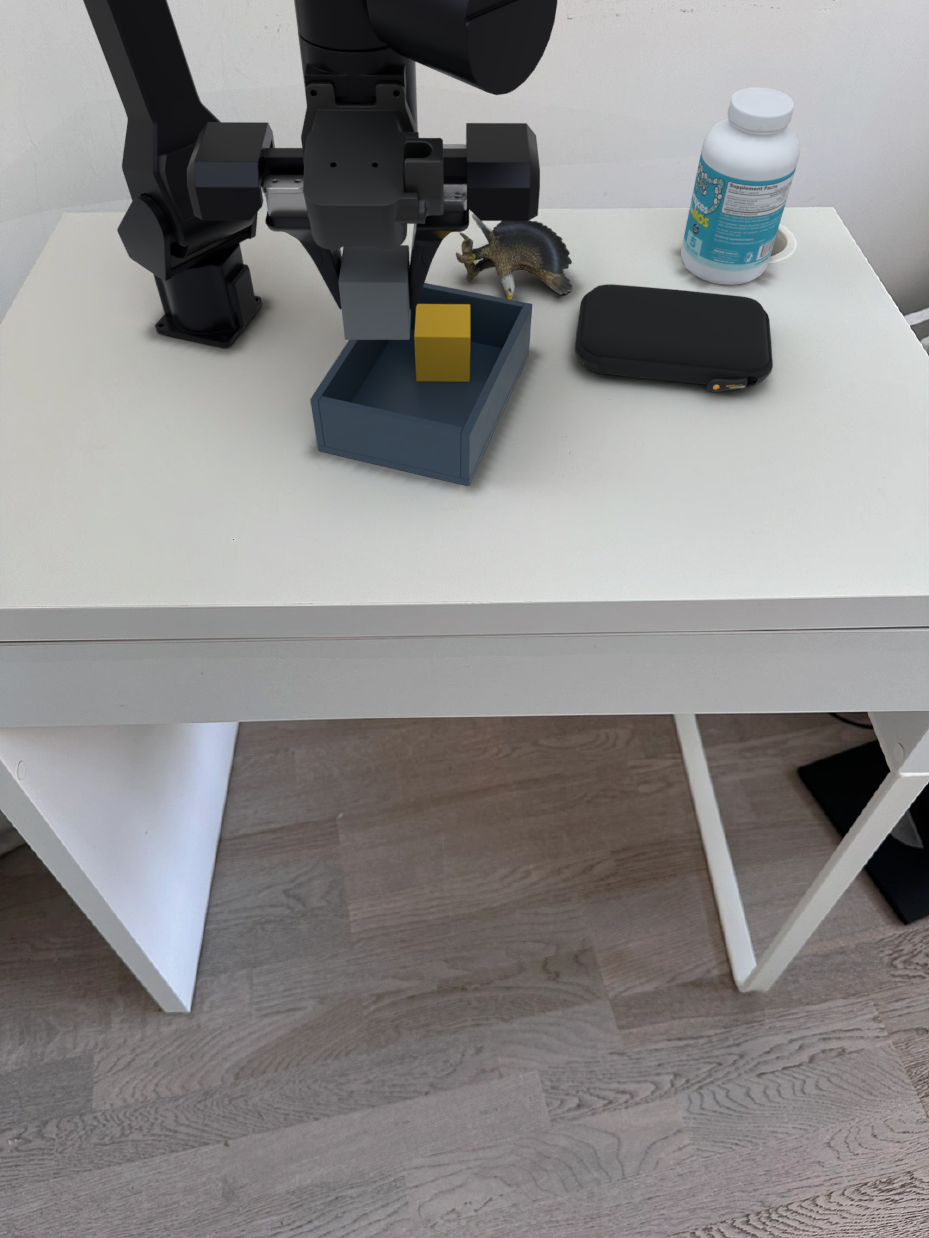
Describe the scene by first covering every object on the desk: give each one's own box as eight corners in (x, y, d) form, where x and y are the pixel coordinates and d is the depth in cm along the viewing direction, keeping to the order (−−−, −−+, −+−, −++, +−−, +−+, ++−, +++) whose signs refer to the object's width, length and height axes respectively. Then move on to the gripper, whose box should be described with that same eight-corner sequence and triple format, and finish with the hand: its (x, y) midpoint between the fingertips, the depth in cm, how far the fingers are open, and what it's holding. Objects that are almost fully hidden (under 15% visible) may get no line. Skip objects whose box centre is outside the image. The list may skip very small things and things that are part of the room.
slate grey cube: (344, 340, 58) (338, 282, 55) (349, 302, 60) (343, 244, 57) (409, 340, 58) (407, 282, 55) (411, 302, 60) (409, 244, 57)
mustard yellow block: (416, 382, 70) (414, 336, 67) (417, 349, 72) (416, 303, 69) (469, 382, 70) (470, 337, 67) (469, 349, 72) (470, 303, 69)
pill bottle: (678, 237, 83) (711, 74, 73) (763, 244, 83) (809, 81, 72) (678, 285, 79) (713, 120, 68) (768, 293, 78) (818, 127, 68)
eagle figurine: (460, 308, 75) (574, 294, 73) (449, 211, 72) (566, 194, 71) (473, 306, 82) (577, 293, 80) (463, 218, 80) (569, 202, 78)
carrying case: (569, 389, 70) (768, 410, 69) (573, 355, 68) (780, 376, 67) (580, 306, 77) (762, 324, 76) (584, 273, 74) (773, 290, 73)
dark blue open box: (317, 451, 66) (309, 399, 63) (393, 327, 75) (390, 276, 71) (469, 486, 64) (469, 435, 61) (528, 355, 73) (532, 303, 69)
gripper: (130, 102, 41) (206, 389, 53) (557, 104, 41) (534, 389, 54) (176, 2, 48) (234, 277, 60) (542, 4, 48) (525, 278, 60)
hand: (377, 306), depth 58 cm, fingers closed on slate grey cube, 4 cm apart
